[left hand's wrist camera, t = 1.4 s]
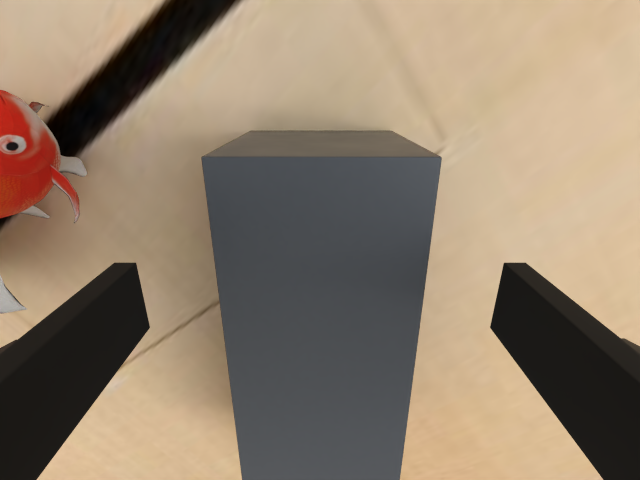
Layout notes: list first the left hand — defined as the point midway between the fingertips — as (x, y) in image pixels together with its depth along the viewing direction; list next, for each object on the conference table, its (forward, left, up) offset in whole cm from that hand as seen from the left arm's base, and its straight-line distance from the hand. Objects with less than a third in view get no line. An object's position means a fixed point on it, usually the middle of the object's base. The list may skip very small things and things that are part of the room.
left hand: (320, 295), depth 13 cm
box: (+7, 0, -11) cm, 13 cm away
